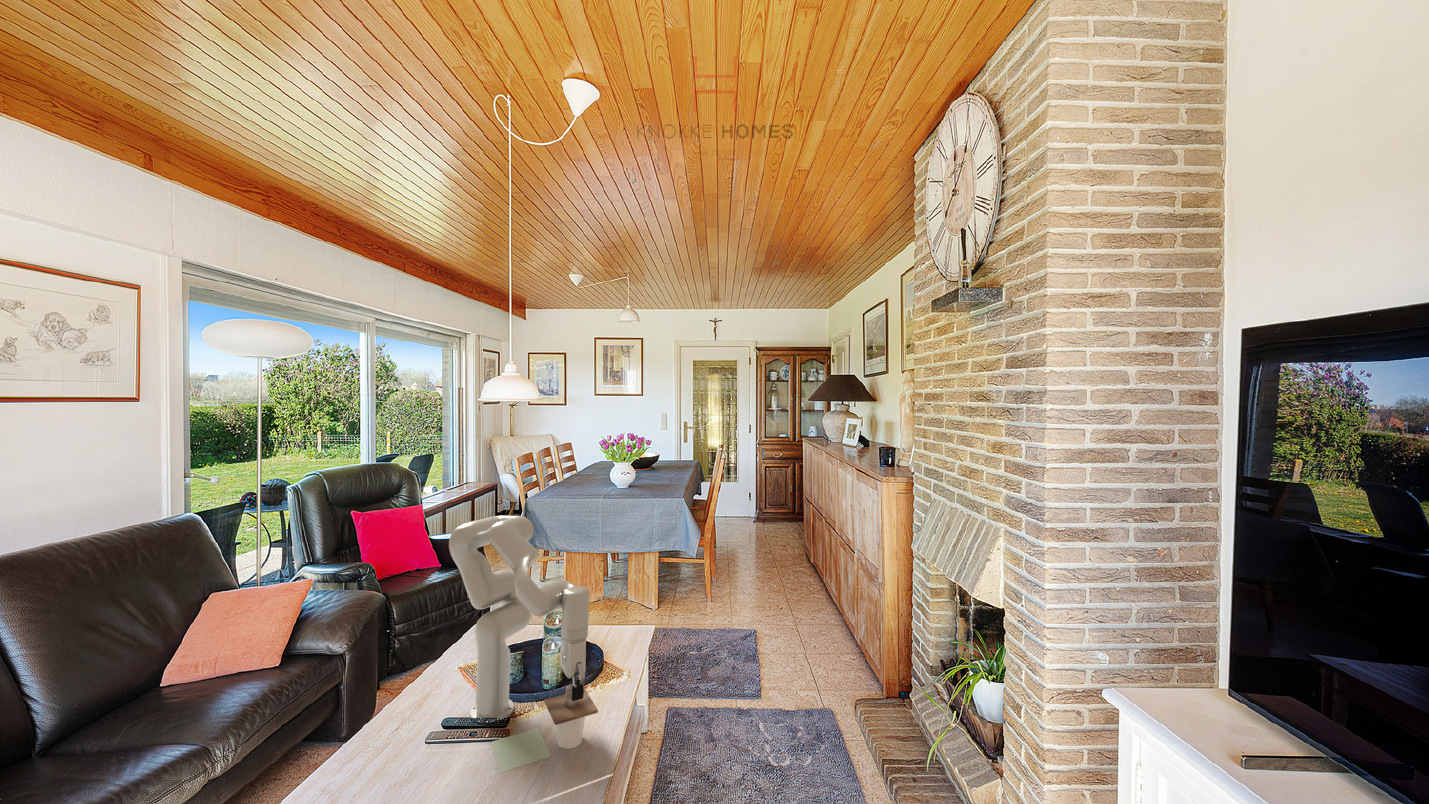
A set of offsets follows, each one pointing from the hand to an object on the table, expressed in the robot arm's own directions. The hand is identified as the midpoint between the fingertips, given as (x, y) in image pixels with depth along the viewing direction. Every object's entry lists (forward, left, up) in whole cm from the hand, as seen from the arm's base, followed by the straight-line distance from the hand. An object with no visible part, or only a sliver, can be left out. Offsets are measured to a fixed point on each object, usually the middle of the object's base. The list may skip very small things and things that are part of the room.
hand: (572, 690), depth 149 cm
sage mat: (-3, -13, -15) cm, 20 cm away
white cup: (0, 0, -15) cm, 15 cm away
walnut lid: (0, 0, -5) cm, 5 cm away
